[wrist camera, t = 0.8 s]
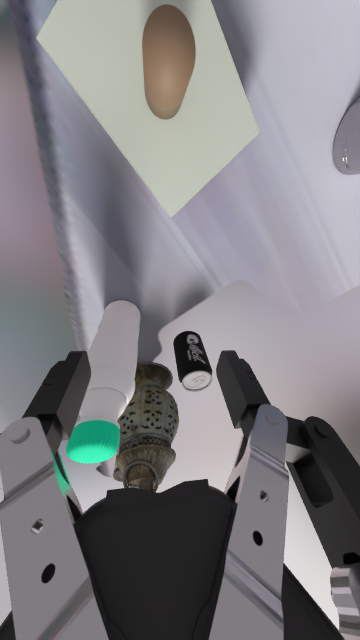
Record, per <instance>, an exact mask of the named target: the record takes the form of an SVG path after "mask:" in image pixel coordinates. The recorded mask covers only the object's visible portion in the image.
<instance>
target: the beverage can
mask: <svg viewBox="0 0 360 640" xmlns="http://www.w3.org/2000/svg"><path fill="white" fill-rule="evenodd" d="M173 344H174V351H175V357H176V364H177V371H178V377H179V381H180V382H181V383H182V386H183V388H184V389H186V390H188V391H192V392H196V391H201V390H204V389H206V388H207V387H208V386H209V385H210V384H211V383H212V369H211V366H210V363H209V360H208V357H207V355H206V352H205V349H204V346H203V343H202V340H201V338H200V336H199V335H198V334H197V333H195V332H192V331H185V332H182V333H180V334H179V335H178V336H176V338H175V339H174V343H173Z"/></svg>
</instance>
